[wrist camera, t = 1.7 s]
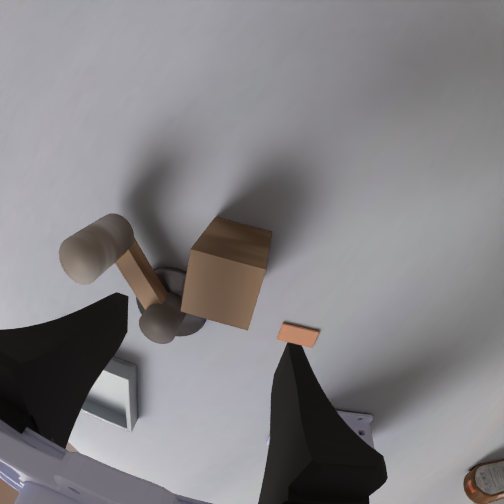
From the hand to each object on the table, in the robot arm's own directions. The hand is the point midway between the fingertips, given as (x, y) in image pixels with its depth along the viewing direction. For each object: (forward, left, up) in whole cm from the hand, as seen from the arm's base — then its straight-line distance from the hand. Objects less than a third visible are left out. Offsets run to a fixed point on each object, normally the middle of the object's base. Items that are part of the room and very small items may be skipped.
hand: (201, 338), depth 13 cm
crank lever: (+6, +3, -9) cm, 11 cm away
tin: (-52, +28, -10) cm, 60 cm away
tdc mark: (-6, +6, -10) cm, 13 cm away
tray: (+12, +20, -10) cm, 25 cm away
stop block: (0, 0, -10) cm, 10 cm away
